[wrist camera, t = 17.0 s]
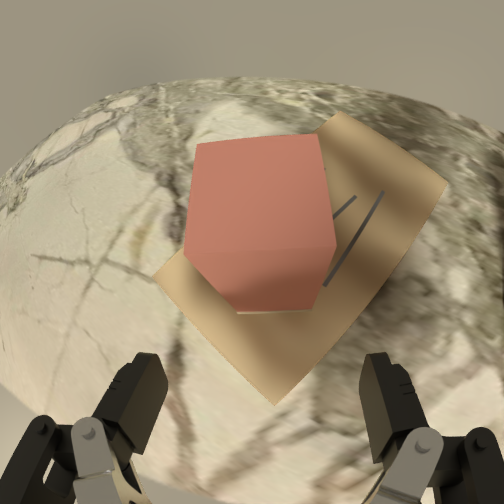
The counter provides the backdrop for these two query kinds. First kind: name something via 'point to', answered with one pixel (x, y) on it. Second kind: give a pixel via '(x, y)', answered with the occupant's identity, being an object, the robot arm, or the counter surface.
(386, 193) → the oak board
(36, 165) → the counter surface
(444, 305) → the counter surface
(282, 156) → the block
